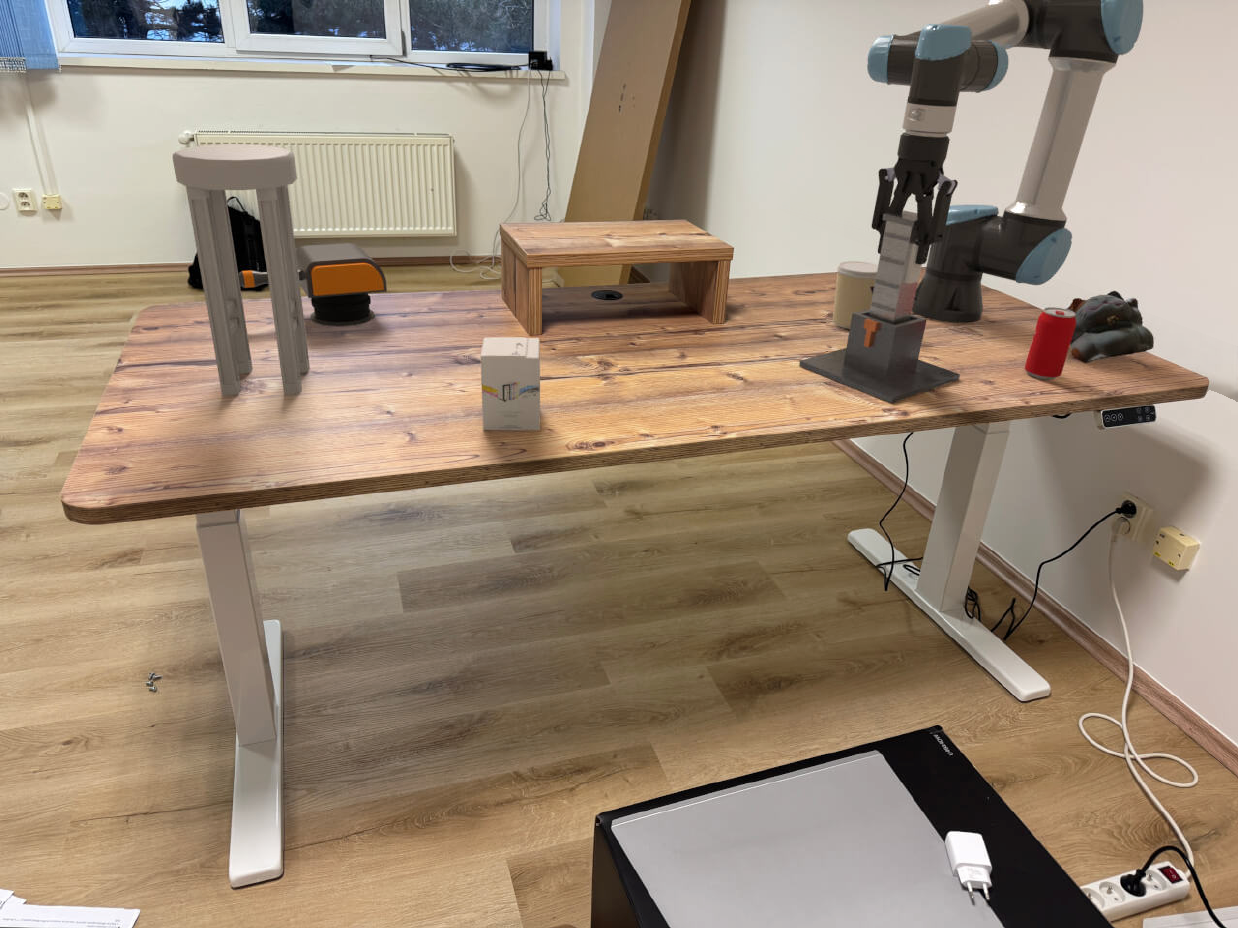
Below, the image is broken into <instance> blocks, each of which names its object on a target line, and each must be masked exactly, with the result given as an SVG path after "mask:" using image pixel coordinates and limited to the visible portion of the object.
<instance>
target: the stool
mask: <svg viewBox="0 0 1238 928" xmlns="http://www.w3.org/2000/svg"><path fill="white" fill-rule="evenodd" d="M172 162H173V168H174V169H173V170H174V173H175V178H176V182H177V183H178V184H180V185H182V186H185V188H186V195H187V200H188V206H189V213H190V217H191V218H190V219H191V223H192V224H191V225H192V228H193V229H192V230H193V235H194V243H195V247H196V252H197V258H198V259H197V260H198V264H199V269H200V275H201V281H202V282H201V283H202V287H203V293H204V297H205V299H204V300H205V305H206V311H207V316H208V321H209V322H208V323H209V327H210V332H211V338H212V339H211V340H212V345H213V349H214V357H215V362H216V363H215V364H216V366H217V372H218V378H219V384H220V389H221V396H222V397H224V396H225V397H228V396H229V397H230V396H231V397H232V396H239V395H240V393H241V391H242V386H241V380H240V375H241V374H242V375H243V374H245V375H246V374H251V373H252V372H253V369H254V368H253V363H252V356H251V355H252V354H251V350H250V344H249V343H250V342H249V337H248V329H247V323H246V317H245V311H244V310H245V309H244V303H243V297H242V296H243V295H242V290H241V286H240V283H239V277H238V274H239V271H238V265H237V257H236V252H235V251H236V250H235V245H234V238H233V234H232V233H233V232H232V226H231V219H230V214H229V208H228V206H229V205H228V200H227V195H226V191H251V190H255V194H256V200H257V202H256V203H257V208H258V209H257V210H258V215H259V222H260V230H261V236H262V237H261V238H262V244H263V245H262V246H263V251H264V259H265V264H266V272H267V274H268V281H269V283H268V287H269V289H268V290H269V295H270V301H271V302H270V303H271V311H272V317H273V324H274V332H275V338H276V345H277V352H278V360H279V366H280V375H281V381H282V389H283V395H301V392H302V389H303V388H302V381H301V380H302V379H301V374H303V373H304V374H305V373H309V371H310V369H311V366H310V358H309V349H308V342H307V333H306V325H305V317H304V309H303V301H302V292H301V285H300V283H299V274H298V266H297V258H296V250H297V249H296V243H295V236H294V234H295V233H294V227H293V226H294V225H293V219H292V211H291V210H292V209H291V201H290V193H289V187H288V185H292V184H294V183H295V182H296V181H297V179H298V177H297V176H298V174H297V166H296V159H295V153H294V152H292V150H288V149H286V148H283V147H279V146H272V145H271V146H270V145H264V144H250V143H249V144H247V143H246V144H245V143H244V144H242V143H222V144H221V143H220V144H204V145H197V146H189V147H183V148H180V149H179V150H176V151H175V152H173V154H172ZM300 373H301V374H300ZM239 374H240V375H239Z"/></svg>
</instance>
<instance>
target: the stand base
mask: <svg viewBox="0 0 1238 928" xmlns="http://www.w3.org/2000/svg"><path fill="white" fill-rule="evenodd" d="M869 312H870V309H868V310H864V311H860V312H856V313H853V314H852V320H851V325H850V329H849V331H848V338H847V341H846V342H847V343H846V347H845V348H841V349H837V350H834V351H830V352H826V353H823V354H819V355H816V356H813V357H808V358H805V359H801V360H799V365H798V366H799V367H801V368H804V369H806V370H807V371H811V372H813V373H816V374H818V375H821V376H823V377H826V378H828V379H830V380H833V381H836V382H838V383H841V384H843V385H845V386H847V387H850V388H852V389H855V390H858V391H859V392H863V393H865V394H867V395H870V396H873V397H875V398H877V399H880V400H882V401H885V402H886V403H890V404H893V403H897V402H899V401H902V400H905V399H908V398H911V397H913V396H916V395H919V394H922V393H925V392H928V391H930V390H934V389H936V388H939V387H941V386H944V385H947V384H950V383H953V382H956V381H959V380H960V376H961V374H959V373H957V372H955V371H951V370H949V369H946V368H943V367H940V366H938V365H936V364H935V365H934V364H932V363H930V362H926V361H924V360H920V359H919V356H920V352H921V349H922V343H923V338H924V334H925V330H926V329H925V328H926V325H927V321H928V320H927V319H928V318H925V317H922V316H919V315H916V314H912V313H911V317H910V321H908V322H904V323H900V324H897V325H892V324H889V323H886V322H883V321H880V320H877V319H874V318H871V317H869Z"/></svg>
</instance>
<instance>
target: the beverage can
mask: <svg viewBox="0 0 1238 928" xmlns="http://www.w3.org/2000/svg"><path fill="white" fill-rule="evenodd" d="M1075 326H1076V318H1075V313H1074V312H1073V311H1070V310H1067V309H1066V308H1063V307H1055V306H1054V307H1052V306H1051V307H1050V306H1049V307H1048V306H1047V307H1045V308H1044V309H1043V311H1042V312H1041V313H1040V314H1039V316H1038V318H1037V321H1036V324H1035V329H1034V333H1033V336H1032V339H1031V343H1030V347H1029V351H1028V354H1027V358H1026V361H1025V365H1024V370H1025V371H1026V372H1027V374H1028V375H1030V376H1031V377H1032V378H1033V377H1034V378H1036V379H1040V380H1041V379H1042V380H1054V379H1057V378H1060V376H1062V373H1063V369H1064V366H1065V363H1066V359H1067V356H1068V353H1069V350H1070V348H1071V345H1070V343H1071V340H1072V336H1073V333H1074V330H1075Z"/></svg>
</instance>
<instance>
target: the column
mask: <svg viewBox="0 0 1238 928" xmlns="http://www.w3.org/2000/svg"><path fill="white" fill-rule="evenodd" d="M882 220H885V221H887V222H886V227H885V232H884V238H883V243H882V248H881V254H879V260H878V264H877V265H878V269H877V275H876V280H875V285H874V291H873V296H872V301H871V307H870V312H869V317H871V318H874V319H877V320H880V321H883V322H886V323H889V324H892V325H897V324H900V323H904V322H908V321H910V317H911V314H912V313H913V312H912V308H913V303H914V298H915V293H916V289H917V287H918V285H919V283H918V282H919V281H918V282H915V283H910V284H907V283H905V280H906V275H907V270H908V265H909V260H910V255H911V250H912V245H913V244H915V242H918V230H917V226H920V222H921V220H920V219H917V212H913V211H908V210H903V212H901V213H894V214H893V213H885V214H883V219H882Z"/></svg>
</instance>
